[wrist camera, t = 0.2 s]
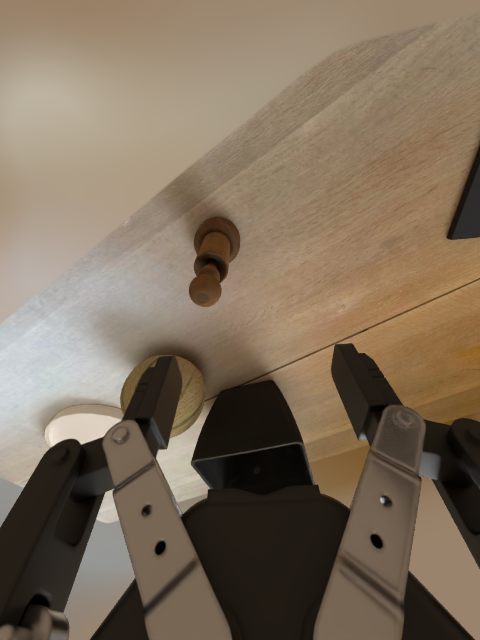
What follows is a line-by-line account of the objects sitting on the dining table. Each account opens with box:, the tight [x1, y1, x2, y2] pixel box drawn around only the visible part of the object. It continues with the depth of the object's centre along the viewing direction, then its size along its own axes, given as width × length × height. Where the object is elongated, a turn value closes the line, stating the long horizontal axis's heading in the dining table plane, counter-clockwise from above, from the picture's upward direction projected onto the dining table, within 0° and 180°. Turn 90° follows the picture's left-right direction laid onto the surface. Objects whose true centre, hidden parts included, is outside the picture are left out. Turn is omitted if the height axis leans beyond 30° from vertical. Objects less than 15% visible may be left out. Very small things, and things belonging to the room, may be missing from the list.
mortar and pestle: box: [189, 217, 240, 307], centre depth 30 cm, size 7×6×18 cm
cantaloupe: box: [120, 355, 205, 438], centre depth 45 cm, size 15×15×15 cm
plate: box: [44, 404, 159, 458], centre depth 65 cm, size 28×28×2 cm
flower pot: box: [191, 381, 315, 495], centre depth 51 cm, size 19×19×17 cm
